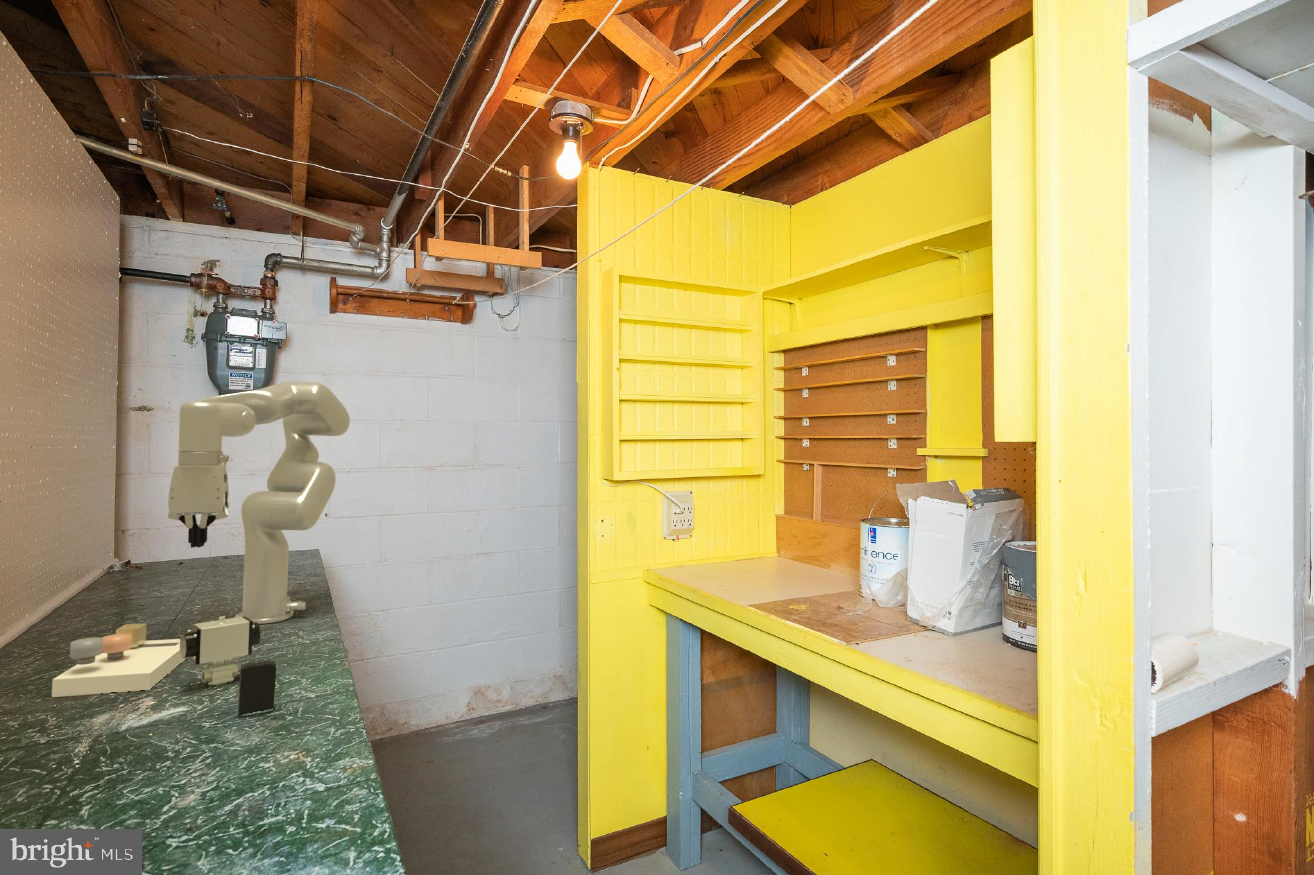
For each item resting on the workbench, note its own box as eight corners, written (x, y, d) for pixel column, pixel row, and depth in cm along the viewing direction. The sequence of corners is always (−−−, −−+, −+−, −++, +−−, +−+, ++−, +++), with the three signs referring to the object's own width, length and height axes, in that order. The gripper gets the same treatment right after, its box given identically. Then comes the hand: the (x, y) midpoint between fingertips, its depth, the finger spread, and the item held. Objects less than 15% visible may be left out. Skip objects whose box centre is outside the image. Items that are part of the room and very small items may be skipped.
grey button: (107, 657, 120) (108, 636, 120) (95, 665, 116) (96, 643, 116) (77, 659, 119) (78, 638, 119) (64, 667, 115) (65, 645, 115)
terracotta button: (134, 652, 127) (135, 632, 127) (124, 660, 123) (125, 639, 123) (106, 654, 125) (107, 634, 125) (95, 661, 121) (96, 640, 121)
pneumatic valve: (259, 678, 125) (261, 613, 125) (184, 694, 116) (187, 624, 116) (249, 670, 128) (251, 608, 129) (176, 685, 120) (179, 618, 120)
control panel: (193, 652, 138) (194, 637, 138) (149, 690, 117) (150, 672, 117) (112, 657, 134) (113, 642, 134) (51, 697, 113) (52, 679, 113)
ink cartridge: (272, 707, 111) (275, 659, 112) (273, 712, 110) (276, 663, 110) (237, 712, 109) (240, 663, 109) (238, 717, 107) (241, 667, 107)
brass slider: (145, 641, 134) (146, 623, 134) (137, 647, 130) (138, 628, 130) (124, 642, 133) (125, 624, 133) (115, 648, 129) (115, 629, 129)
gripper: (245, 459, 147) (242, 543, 147) (165, 458, 142) (163, 544, 142) (235, 461, 140) (232, 548, 140) (150, 460, 135) (148, 550, 135)
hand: (197, 546), depth 141 cm, fingers closed
